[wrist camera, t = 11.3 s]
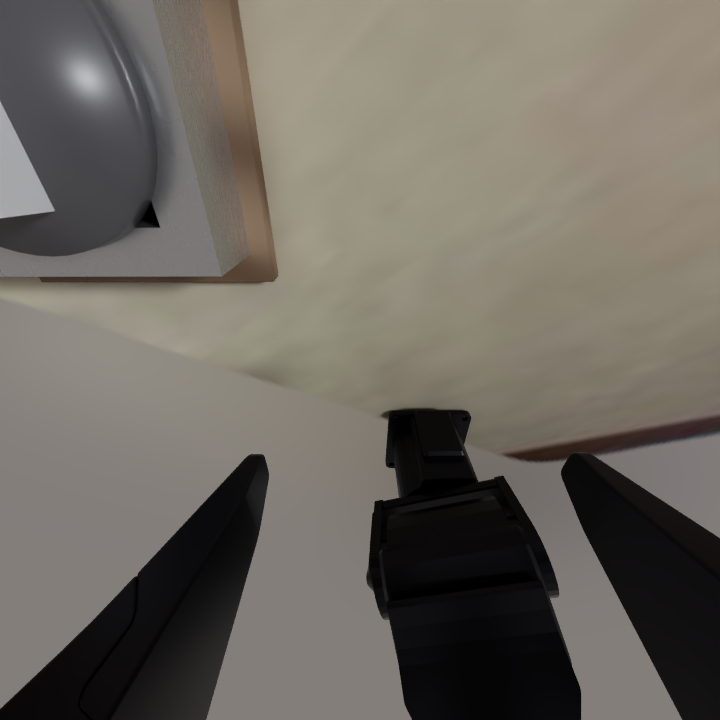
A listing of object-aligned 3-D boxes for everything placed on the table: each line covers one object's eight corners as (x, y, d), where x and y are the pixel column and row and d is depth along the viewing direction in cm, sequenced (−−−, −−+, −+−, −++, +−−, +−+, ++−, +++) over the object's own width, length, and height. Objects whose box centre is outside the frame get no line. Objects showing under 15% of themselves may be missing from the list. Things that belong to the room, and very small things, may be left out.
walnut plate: (278, 275, 18) (273, 281, 17) (60, 275, 18) (41, 281, 17) (218, -130, 10) (202, -163, 9) (-165, -134, 10) (-224, -168, 9)
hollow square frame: (250, 254, 16) (221, 276, 12) (44, 254, 16) (-41, 276, 12) (185, -84, 10) (98, -215, 7) (-145, -87, 10) (-407, -222, 6)
